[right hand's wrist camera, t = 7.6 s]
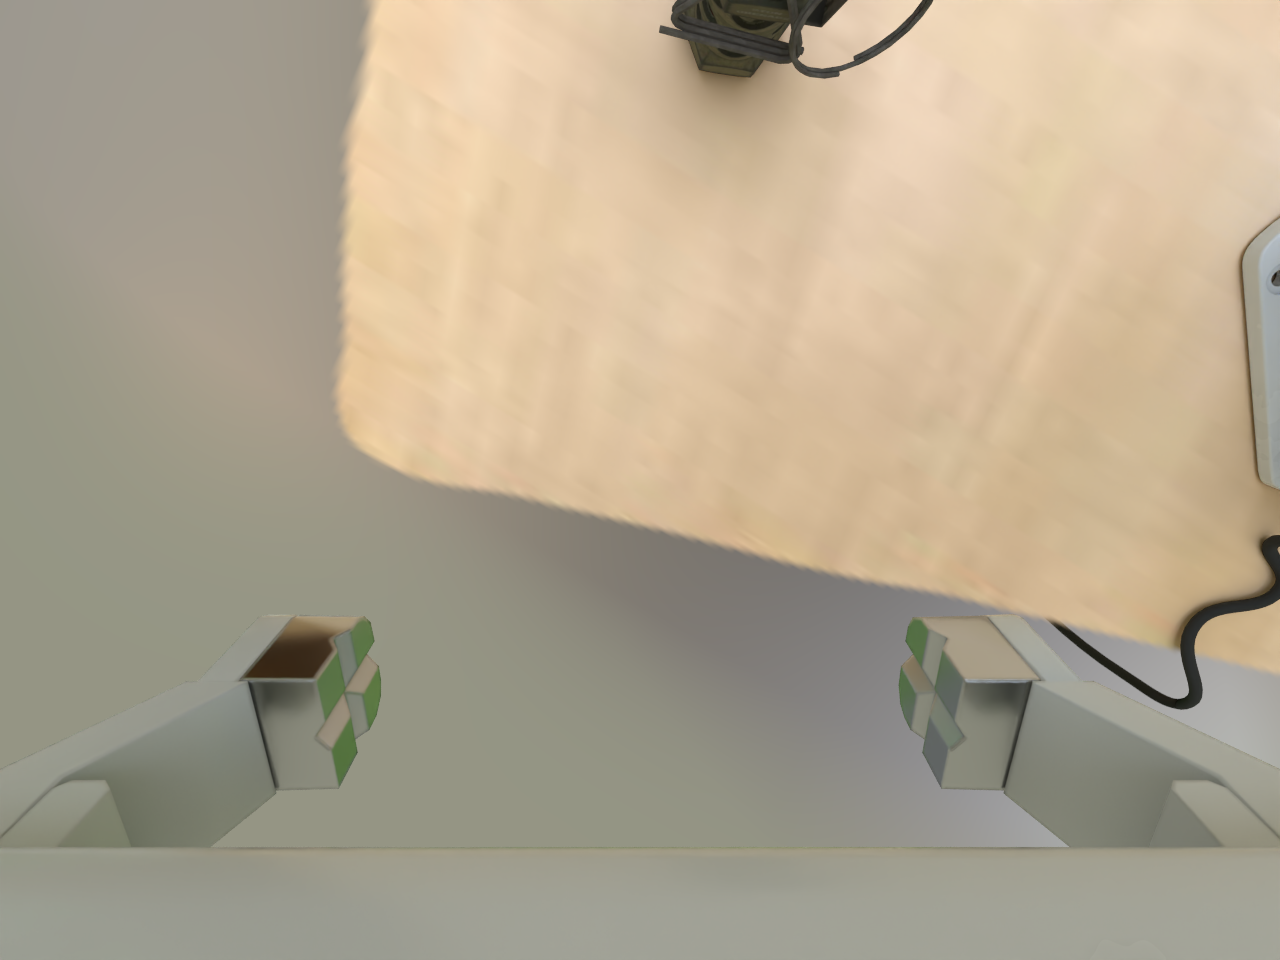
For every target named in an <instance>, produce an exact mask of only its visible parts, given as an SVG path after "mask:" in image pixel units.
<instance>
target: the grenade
mask: <svg viewBox="0 0 1280 960" xmlns="http://www.w3.org/2000/svg"><path fill="white" fill-rule="evenodd" d="M846 1H847V0H677V1H676V2H675V4H674V5H673V7H672V12H673V13H672V15H671V21H672V23H673V24H674V26H675V27H677V28H679V29H680V30H682V31H680V30H677V29H673V28H669V27H665V26H661V25H660V30H659V33H662V34H666V35H670V36H674V37H678V38H682V39H686V40H689V43H690V46H691V48H692V51H693V54H694V57H695V60H696V62H697V65H698V68H699V70H703V71H708V72H713V73H719V74H725V75H733V76H742V77H751V76H752V75H753V74H754V73H755V71H756V70H757V69H758V67H759V66H760V64H761V63H762V62H763V60H767V61H771V62H774V63H778V64H789V63H791V62H792V63H793V65H794V66H795V68H796V69H797V70H798V71H799V72H800V73H802V74H804V75H806V76H809V77H815V78H831V77H838V76H839V75H840V74H839V71H843V70H846V69H848V68H851V67H854V66H856V65H859V64H862V63H863V62H865V61H867V60H869V59H871V58H873V57H875V56H877V55H878V54H880V53H881V52H883V51H884V50H886V49H887V48H889V47H890V46H892V45H893V44H894V43H895V42H896V41H898V40H899V39H900V38H901V37H902V36H904V35H905V34H906V33H907V32H908V31H910V29H911V28H912V27H913V26H914V25H915V24H916V23H917V22H918V21H919V20H920V19H921V17H922V16H923V15H924V14H925V12H926V11H927V9H928V8H929V7H930V5H931V4H932V2H933V0H922V2H921V3H920V4H919V6H918V7H917V8H916V10H915V11H914V13H913V14H912V15H911V16H910V17H909V18H908V19H907V20H906V21H905V22H904V23H903V24H902V25H901V26H899V27H898V28H897V29H896V30H895V31H894V32H892V33H891V34H890V35H888V36H887V37H886V38H884V39H883V40H882V41H880V42H879V43H878V44H876V45H874V46H873V47H871V48H869V49H867V50H865V51H864V52H862V53H860V54H857V55H855V56H854V61H853V62H850V63H847V64H844V65H842V66H837V67H831V68H825V69H820V68H811V67H807V66H805V65H804V64H802V63H801V62H800V61H799V60H798V57H799V56H800V55H802V54H803V51H804V47H801V46H802V36H801V30H802V28H803V26H804V25H809V26H815V27H822V26H823V25H824V24H825V23H826V22H827V21H828V20H829V19H830V18H831V17H832V16H833V15H834V14H835V13H836V12H837V11H838V10H839V9H840V8H841V7H842V6H843V5H844V4H845V2H846ZM789 24H791V35H790V40H789V43H786V42H782V41H778V40H779V38H780V37H781V35H782V34H783V33H784V31H785V30H786V28H787V27H788V25H789Z"/></svg>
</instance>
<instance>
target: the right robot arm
mask: <svg viewBox="0 0 1280 960" xmlns="http://www.w3.org/2000/svg"><path fill="white" fill-rule="evenodd" d="M1242 271H1243V284H1244V297H1245V310H1246V323H1247V335H1248V348H1249V361H1250V374H1251V387H1252V400H1253V413H1254V426H1255V439H1256V452H1257V463H1258V473H1259V477H1260V480H1261V481H1262V482H1263V483H1264V484H1266V485H1268V486H1271V487H1273V488H1275V489H1278V490H1280V218H1279V219H1277V220H1276V221H1275V222H1274V223H1272V224H1271V225H1270V226H1269V227H1267V228H1266V229H1265V230H1264V231H1263V232H1261V233H1260V234H1259V235H1258V236H1257V237H1256V238H1255V239H1254V240H1253V241H1252V243H1251V244H1250V245H1249V246H1248V248H1247V250H1246V251H1245V254H1244V256H1243V261H1242ZM1276 272H1277V276H1276V278H1275V280H1274V281H1273V282H1271V279H1272V276H1273V275H1274V274H1275V273H1276ZM1278 547H1280V535H1274V536H1271V537H1269V538H1268V539H1266V540H1265V541H1264V543H1263V545H1262V552H1263V555H1264V557H1265V558H1266V560H1267V561H1268V563H1269V564H1270V566H1271V567H1272V569H1273V571H1274V573H1275V576H1276V582H1275V584H1274V586H1273V587H1272V588H1271V589H1270V590H1269V591H1268V592H1267V593H1265V594H1263V595H1261V596H1259V597H1255V598H1251V599H1245V600H1238V601H1230V602H1224V603H1219V604H1215V605H1212V606H1209V607H1207V608H1205V609H1203V610H1201V611H1199V612H1198V613H1197V614H1196V615H1194V616H1193V617H1192V618H1191V619H1190V621H1189V622H1188V624H1187V625H1186V627H1185V628H1184V631H1183V634H1182V637H1181V645H1180V647H1181V657H1182V662H1183V666H1184V670H1185V674H1186V677H1187V681H1188V686H1189V693H1188V695H1187V696H1186V697H1185V698H1181V699H1175V698H1171V697H1168V696H1166V695H1164V694H1162V693H1160V692H1159V691H1157V690H1155V689H1154V688H1152V687H1150V686H1149V685H1147V684H1146V683H1144V682H1143V681H1141V680H1140V679H1138V678H1137V677H1135V676H1134V675H1132V674H1131V673H1129V672H1128V671H1126V670H1125V669H1123V668H1122V667H1120V666H1119V665H1117V664H1116V663H1114V662H1113V661H1111V660H1110V659H1108V658H1107V657H1105V656H1104V655H1103V654H1101V653H1100V652H1099V651H1097V650H1096V649H1094V648H1093V647H1092V646H1090V645H1089V644H1088V643H1086V642H1085V641H1084V640H1083V639H1081V638H1080V637H1079V636H1078V635H1076V634H1075V633H1074V632H1073V631H1071V630H1070V629H1069V628H1068V627H1067V626H1065V625H1064V624H1063V623H1059V622H1057V621H1053V620H1048V621H1049V622H1050V623H1051V624H1052V625H1053V626H1054V627H1055V628H1056V629H1058V630H1059V631H1060V632H1061V633H1062V634H1063V635H1064V636H1066V637H1067V638H1068V639H1069V640H1070V641H1072V642H1073V643H1074V644H1075V645H1076V646H1077V647H1079V648H1080V649H1081V650H1083V651H1084V652H1085V653H1086V654H1088V655H1089V656H1090V657H1092V658H1093V659H1094V660H1096V661H1097V662H1098V663H1100V664H1101V665H1103V666H1104V667H1106V668H1107V669H1108V670H1110V671H1111V672H1113V673H1114V674H1116V675H1117V676H1119V677H1120V678H1121V679H1123V680H1124V681H1126V682H1127V683H1129V684H1130V685H1132V686H1133V687H1135V688H1136V689H1137V690H1139V691H1140V692H1142V693H1143V694H1145V695H1146V696H1148V697H1149V698H1151V699H1153V700H1154V701H1156V702H1158V703H1160V704H1162V705H1164V706H1167V707H1170V708H1174V709H1181V710H1182V709H1189V708H1192V707H1194V706H1195V705H1197V704H1198V703H1199V702H1200V700H1201V698H1202V691H1203V689H1202V682H1201V678H1200V675H1199V671H1198V667H1197V664H1196V659H1195V652H1194V645H1195V638H1196V636H1197V633H1198V631H1199V630H1200V628H1201V627H1202V626H1203V625H1204V624H1205V623H1206V622H1207V621H1208V620H1210V619H1212V618H1214V617H1217V616H1219V615H1224V614H1229V613H1235V612H1243V611H1250V610H1255V609H1260V608H1263V607H1266V606H1268V605H1271V604H1273V603H1274V602H1276V601H1277V600H1279V599H1280V554H1279V552H1278V550H1277V549H1278ZM373 643H374V637H373V632H372V627H371V622H370V621H369V620H368V619H367V618H366V617H365V616H325V615H299V616H298V615H265V616H261V617H258V618H257V619H256V620H255V621H254V622H253V623H252V624H251V625H250V626H249V627H248V629H247V630H246V631H245V632H244V633H243V634H242V635H241V636H240V637H239V638H238V639H237V640H236V641H235V642H234V643H233V644H232V645H231V647H230V648H229V649H228V650H227V651H226V652H225V653H224V654H223V655H222V656H221V657H220V658H219V659H218V660H217V661H216V662H215V663H214V665H213V666H212V667H211V668H210V669H209V670H208V671H207V672H206V673H205V674H204V675H203V676H202V677H201V678H200V679H199V680H198V681H186V682H184V683H182V684H180V685H177V686H175V687H173V688H171V689H169V690H167V691H165V692H163V693H160V694H158V695H156V696H154V697H152V698H150V699H148V700H146V701H144V702H141V703H139V704H137V705H135V706H133V707H131V708H129V709H126V710H124V711H122V712H120V713H118V714H116V715H114V716H112V717H109V718H107V719H105V720H103V721H101V722H99V723H97V724H95V725H92V726H90V727H88V728H86V729H84V730H82V731H80V732H78V733H75V734H73V735H71V736H69V737H67V738H65V739H63V740H61V741H58V742H56V743H54V744H52V745H50V746H48V747H46V748H44V749H42V750H39V751H37V752H35V753H33V754H31V755H29V756H27V757H24V758H22V759H20V760H18V761H16V762H14V763H12V764H10V765H7V766H5V767H3V768H1V769H0V960H1280V769H1278V768H1276V767H1274V766H1272V765H1270V764H1268V763H1266V762H1264V761H1261V760H1259V759H1257V758H1255V757H1253V756H1251V755H1249V754H1247V753H1244V752H1242V751H1240V750H1238V749H1236V748H1234V747H1232V746H1230V745H1228V744H1225V743H1223V742H1221V741H1219V740H1217V739H1215V738H1213V737H1211V736H1208V735H1206V734H1204V733H1202V732H1200V731H1198V730H1196V729H1194V728H1192V727H1189V726H1187V725H1185V724H1183V723H1181V722H1179V721H1177V720H1175V719H1172V718H1170V717H1168V716H1166V715H1164V714H1162V713H1160V712H1158V711H1155V710H1153V709H1151V708H1149V707H1147V706H1145V705H1143V704H1141V703H1138V702H1136V701H1134V700H1132V699H1130V698H1128V697H1126V696H1124V695H1122V694H1119V693H1117V692H1115V691H1113V690H1111V689H1109V688H1107V687H1105V686H1103V685H1100V684H1098V683H1096V682H1094V681H1082V680H1081V679H1080V678H1079V677H1078V676H1077V675H1076V674H1075V673H1074V672H1073V671H1072V670H1071V669H1070V668H1069V667H1068V666H1067V664H1066V663H1065V662H1064V661H1063V660H1062V659H1061V658H1060V657H1059V656H1058V655H1057V654H1056V653H1055V652H1054V651H1053V650H1052V649H1051V647H1050V646H1049V645H1048V644H1047V643H1046V642H1045V641H1044V640H1043V639H1042V638H1041V637H1040V636H1039V635H1038V634H1037V633H1036V632H1035V631H1034V629H1033V628H1032V627H1031V626H1030V625H1029V624H1028V623H1027V622H1026V621H1025V620H1024V619H1023V618H1021V617H1019V616H1017V615H1014V614H1009V615H981V616H953V617H913V618H912V620H911V622H910V624H909V626H908V630H907V636H906V643H907V644H908V646H909V648H910V649H911V651H912V653H913V655H912V656H911V657H910V658H909V659H908V660H907V661H906V662H905V663H904V664H903V665H902V666H901V672H900V680H899V693H900V704H901V707H902V711H903V714H904V717H905V719H906V721H907V723H908V725H909V727H910V729H911V730H912V731H913V732H915V733H916V734H918V735H919V736H921V737H922V738H923V739H925V742H924V747H923V754H924V756H925V758H926V760H927V762H928V764H929V766H930V768H931V770H932V772H933V773H934V775H935V777H936V779H937V781H938V783H939V785H940V787H941V788H942V789H972V790H1004V794H1005V795H1006V796H1008V797H1009V798H1010V799H1011V800H1013V801H1014V802H1015V803H1016V804H1017V805H1019V806H1020V807H1021V808H1022V809H1024V810H1025V811H1026V812H1027V813H1029V814H1030V815H1031V816H1032V817H1033V818H1035V819H1036V820H1037V821H1038V822H1040V823H1041V824H1042V825H1043V826H1045V827H1046V828H1047V829H1048V830H1050V831H1051V832H1052V833H1053V834H1054V835H1056V836H1057V837H1058V838H1059V839H1061V840H1062V841H1063V842H1064V843H1066V844H1067V845H1068V846H1069V847H211V846H212V845H213V844H215V843H216V842H217V841H218V840H220V839H221V838H222V837H223V836H225V835H226V834H227V833H228V832H229V831H231V830H232V829H233V828H234V827H236V826H237V825H238V824H239V823H241V822H242V821H243V820H244V819H246V818H247V817H248V816H249V815H250V814H252V813H253V812H254V811H255V810H257V809H258V808H259V807H260V806H262V805H263V804H264V803H265V802H267V801H268V800H269V799H270V798H271V797H273V796H274V795H275V794H276V790H307V789H338V788H339V787H340V785H341V783H342V781H343V779H344V777H345V775H346V773H347V772H348V770H349V768H350V766H351V764H352V762H353V760H354V758H355V756H356V755H357V747H356V742H355V739H356V738H358V737H359V736H361V735H362V734H364V733H365V732H367V731H368V730H369V729H370V727H371V725H372V723H373V721H374V719H375V717H376V715H377V711H378V706H379V702H380V697H381V678H380V671H379V666H378V665H377V664H376V663H375V662H374V661H373V660H372V659H371V658H370V657H369V656H368V655H367V653H368V651H369V649H370V648H371V646H372V644H373Z"/></svg>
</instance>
